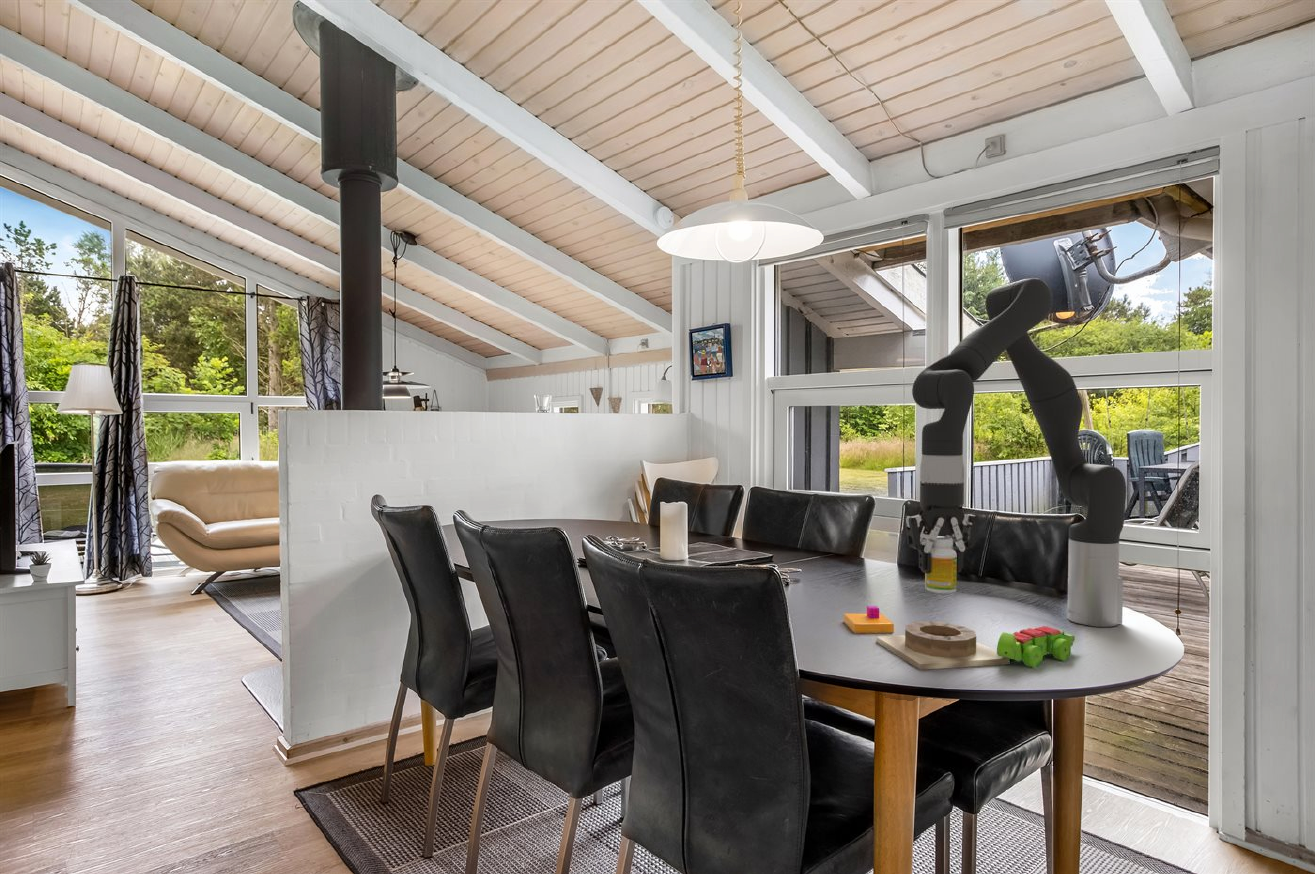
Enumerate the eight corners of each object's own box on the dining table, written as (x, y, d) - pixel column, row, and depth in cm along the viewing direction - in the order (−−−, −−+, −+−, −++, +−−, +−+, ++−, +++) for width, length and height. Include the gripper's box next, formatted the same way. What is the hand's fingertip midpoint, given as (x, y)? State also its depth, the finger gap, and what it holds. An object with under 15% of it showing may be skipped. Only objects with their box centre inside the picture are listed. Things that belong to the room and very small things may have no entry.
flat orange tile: (893, 634, 149) (894, 613, 149) (854, 634, 149) (854, 613, 149) (881, 623, 157) (881, 603, 157) (843, 623, 157) (843, 603, 157)
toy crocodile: (1051, 646, 141) (1052, 614, 140) (1086, 656, 135) (1086, 622, 135) (981, 662, 131) (982, 628, 131) (1015, 674, 125) (1016, 638, 125)
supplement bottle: (959, 594, 133) (959, 540, 133) (927, 593, 134) (928, 539, 134) (953, 587, 138) (954, 535, 138) (923, 586, 139) (923, 534, 139)
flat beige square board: (957, 637, 146) (957, 631, 146) (1009, 663, 130) (1009, 658, 130) (876, 641, 143) (876, 636, 143) (920, 669, 127) (920, 663, 127)
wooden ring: (951, 635, 143) (951, 620, 143) (989, 655, 132) (990, 638, 132) (893, 638, 141) (893, 623, 141) (927, 659, 129) (927, 642, 129)
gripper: (965, 477, 141) (964, 566, 141) (895, 478, 138) (894, 569, 139) (990, 480, 133) (989, 574, 134) (916, 482, 131) (915, 577, 131)
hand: (940, 571), depth 136 cm, fingers closed on supplement bottle, 5 cm apart
